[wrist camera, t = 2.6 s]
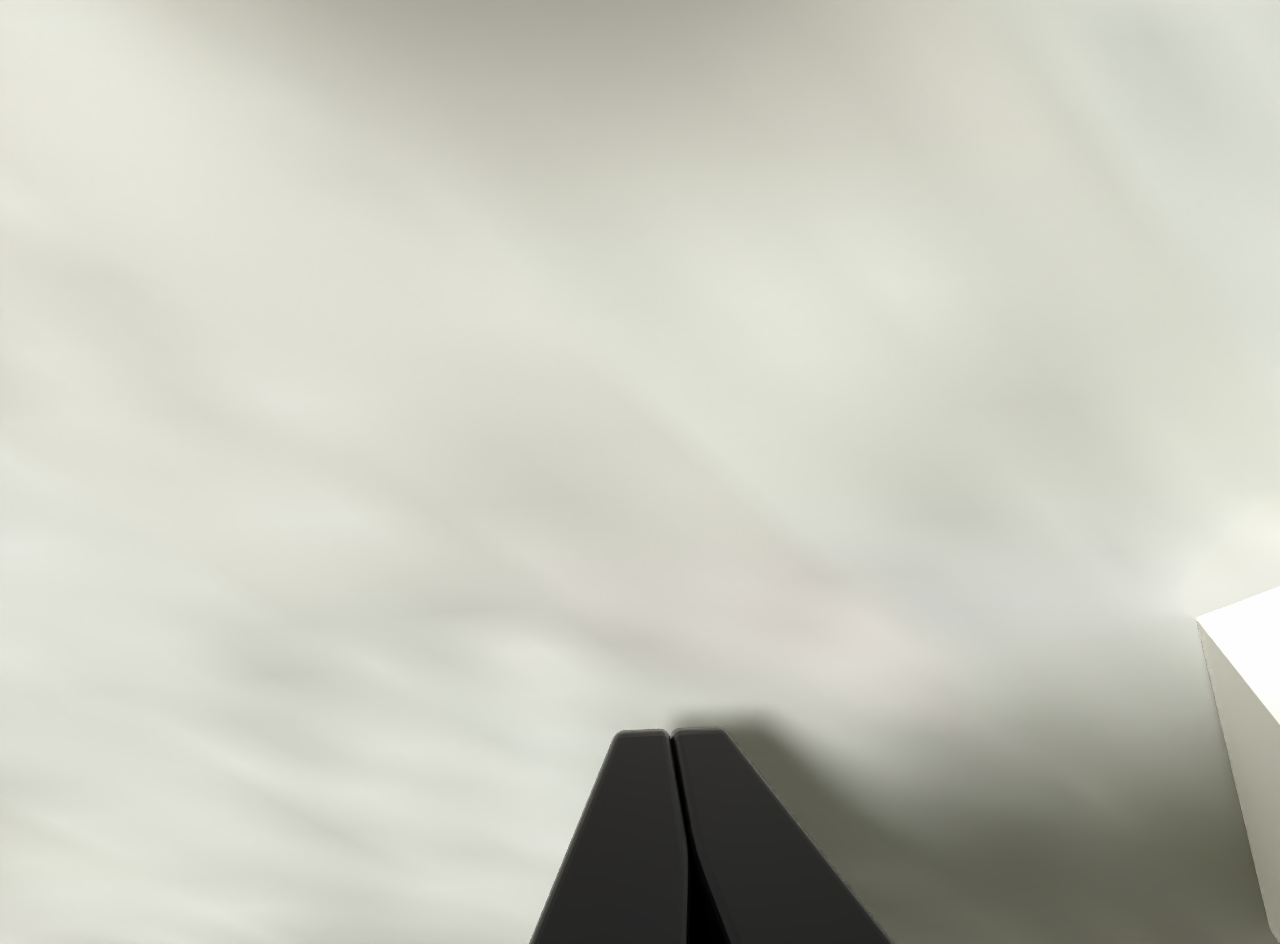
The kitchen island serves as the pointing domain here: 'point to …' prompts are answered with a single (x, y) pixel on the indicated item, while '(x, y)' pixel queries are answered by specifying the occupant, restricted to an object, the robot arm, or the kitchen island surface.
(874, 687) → the kitchen island surface
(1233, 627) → the soap bar
